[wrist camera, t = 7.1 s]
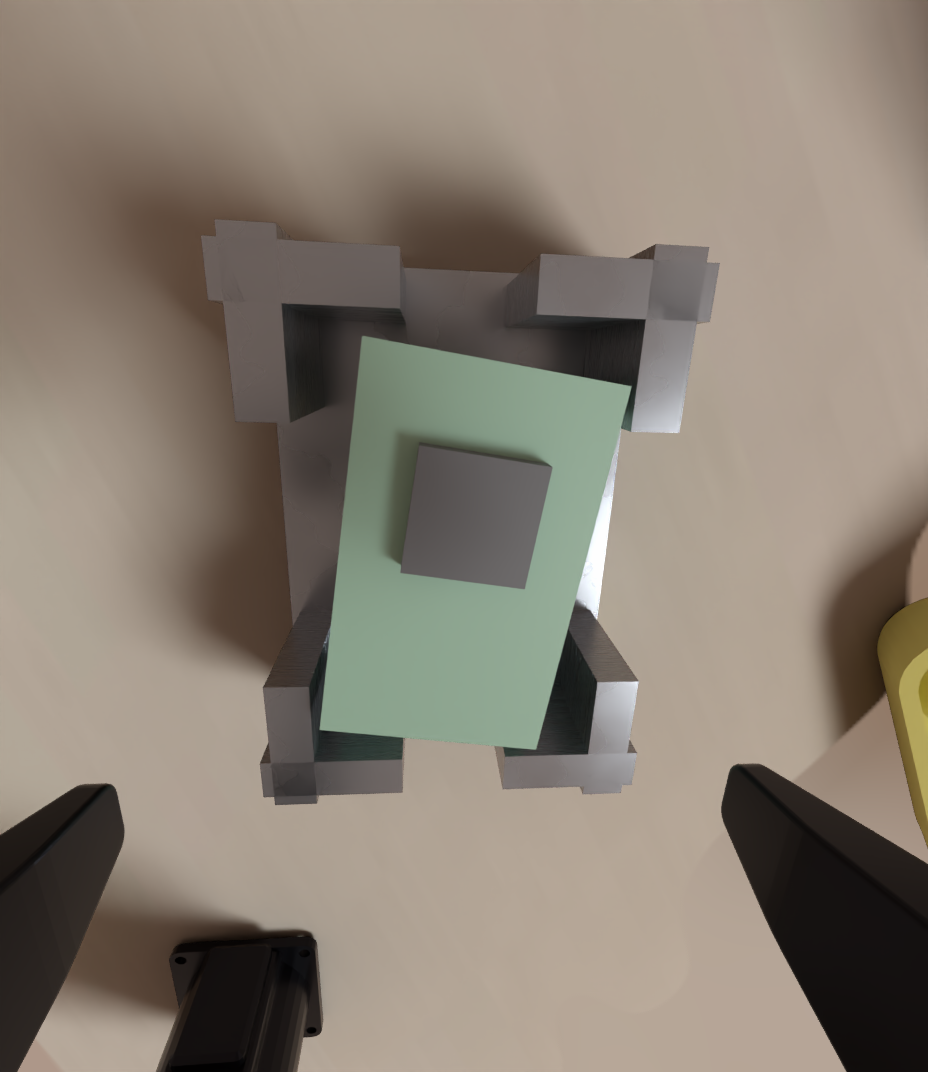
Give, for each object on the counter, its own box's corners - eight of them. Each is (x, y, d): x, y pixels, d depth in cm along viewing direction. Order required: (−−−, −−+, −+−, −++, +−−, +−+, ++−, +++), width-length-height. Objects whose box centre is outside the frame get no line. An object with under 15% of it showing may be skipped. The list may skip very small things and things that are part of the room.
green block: (514, 678, 18) (539, 762, 14) (339, 659, 17) (316, 742, 13) (585, 381, 15) (640, 387, 11) (376, 342, 14) (359, 334, 10)
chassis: (579, 687, 21) (630, 792, 16) (304, 692, 20) (264, 805, 15) (627, 284, 16) (722, 247, 11) (273, 266, 16) (199, 218, 10)
